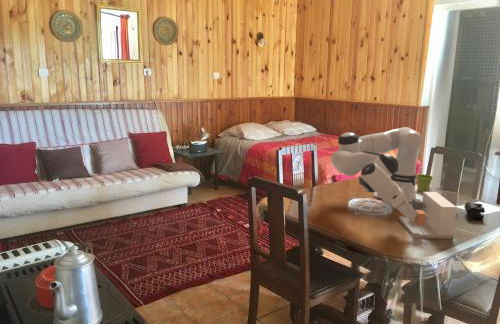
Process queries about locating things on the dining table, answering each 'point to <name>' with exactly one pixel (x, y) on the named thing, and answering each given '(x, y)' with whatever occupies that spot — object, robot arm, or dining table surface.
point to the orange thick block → (420, 217)
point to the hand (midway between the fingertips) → (414, 217)
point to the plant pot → (423, 182)
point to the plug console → (433, 218)
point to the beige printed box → (450, 196)
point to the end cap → (474, 211)
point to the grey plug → (417, 204)
